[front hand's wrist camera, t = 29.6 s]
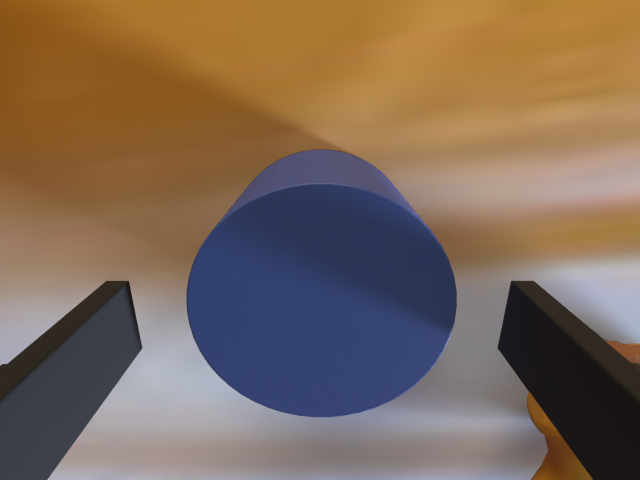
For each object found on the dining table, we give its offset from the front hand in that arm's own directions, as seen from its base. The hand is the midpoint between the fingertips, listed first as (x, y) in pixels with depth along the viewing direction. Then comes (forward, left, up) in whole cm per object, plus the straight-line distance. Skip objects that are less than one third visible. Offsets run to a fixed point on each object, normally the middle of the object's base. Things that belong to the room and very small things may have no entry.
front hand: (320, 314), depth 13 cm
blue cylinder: (0, 0, -7) cm, 7 cm away
